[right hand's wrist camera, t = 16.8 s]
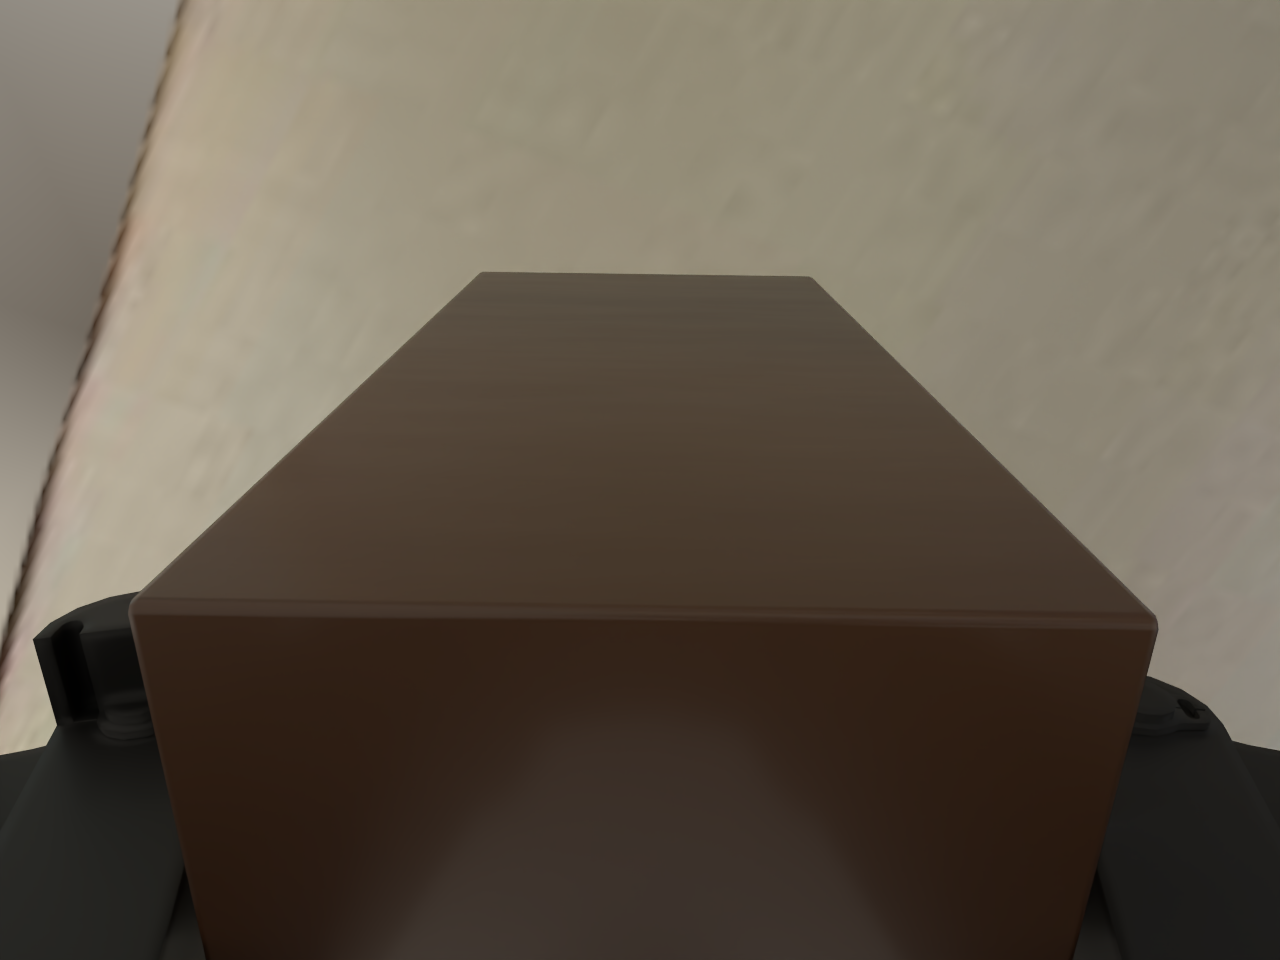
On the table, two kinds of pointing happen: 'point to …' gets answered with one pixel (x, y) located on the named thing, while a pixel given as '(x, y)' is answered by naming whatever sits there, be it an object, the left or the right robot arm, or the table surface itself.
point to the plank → (640, 654)
